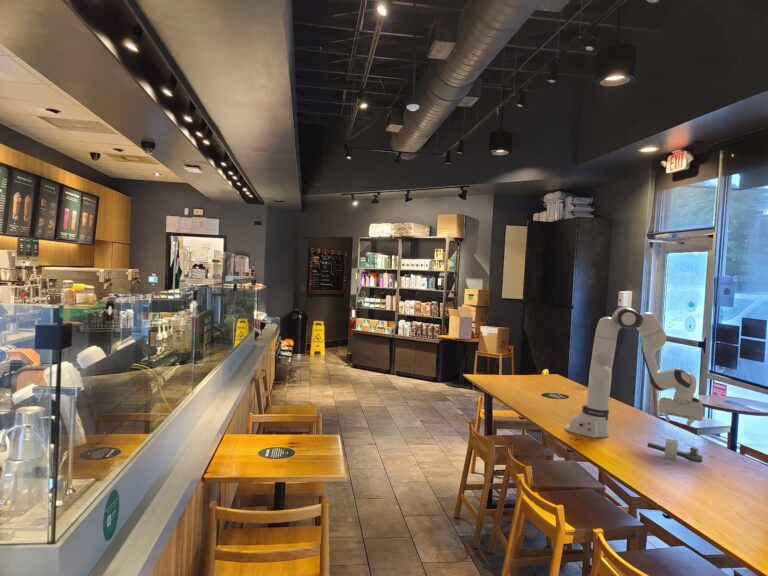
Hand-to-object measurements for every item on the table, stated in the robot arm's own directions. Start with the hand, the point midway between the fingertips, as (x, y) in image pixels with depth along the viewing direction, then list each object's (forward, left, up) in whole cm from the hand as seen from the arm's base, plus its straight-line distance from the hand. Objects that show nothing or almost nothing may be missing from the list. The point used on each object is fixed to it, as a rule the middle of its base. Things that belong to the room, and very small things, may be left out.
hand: (677, 423), depth 264 cm
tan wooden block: (-2, -12, -14) cm, 19 cm away
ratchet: (0, -3, -14) cm, 15 cm away
